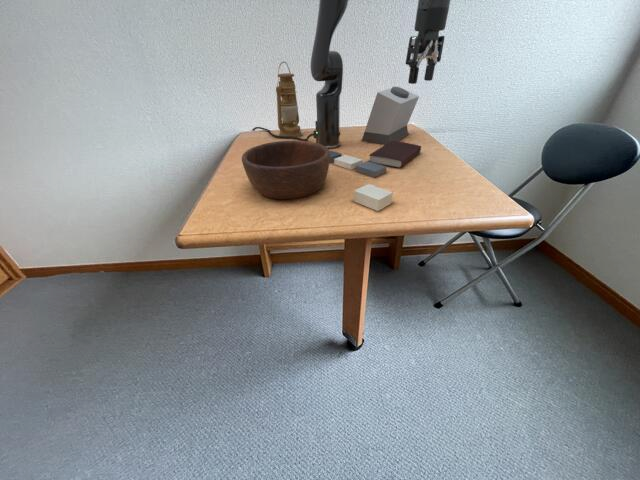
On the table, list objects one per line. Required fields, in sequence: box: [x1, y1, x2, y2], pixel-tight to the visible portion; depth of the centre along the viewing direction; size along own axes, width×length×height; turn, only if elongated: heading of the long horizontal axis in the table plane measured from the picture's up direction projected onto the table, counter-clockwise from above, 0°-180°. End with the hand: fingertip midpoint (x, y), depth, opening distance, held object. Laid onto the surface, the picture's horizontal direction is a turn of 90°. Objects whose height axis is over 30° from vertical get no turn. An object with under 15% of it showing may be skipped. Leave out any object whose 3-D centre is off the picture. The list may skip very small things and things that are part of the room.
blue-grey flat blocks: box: [329, 149, 387, 178], centre depth 97 cm, size 28×6×2 cm, turn 43°
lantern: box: [275, 61, 302, 138], centre depth 125 cm, size 15×10×30 cm
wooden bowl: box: [241, 140, 331, 200], centre depth 81 cm, size 25×25×10 cm
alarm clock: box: [361, 86, 420, 145], centre depth 119 cm, size 20×16×20 cm
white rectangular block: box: [353, 183, 394, 212], centre depth 73 cm, size 8×6×3 cm
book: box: [368, 141, 422, 169], centre depth 101 cm, size 12×19×3 cm, turn 145°
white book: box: [333, 154, 363, 171], centre depth 97 cm, size 8×6×2 cm
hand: (420, 82), depth 78 cm, fingers open, 8 cm apart
